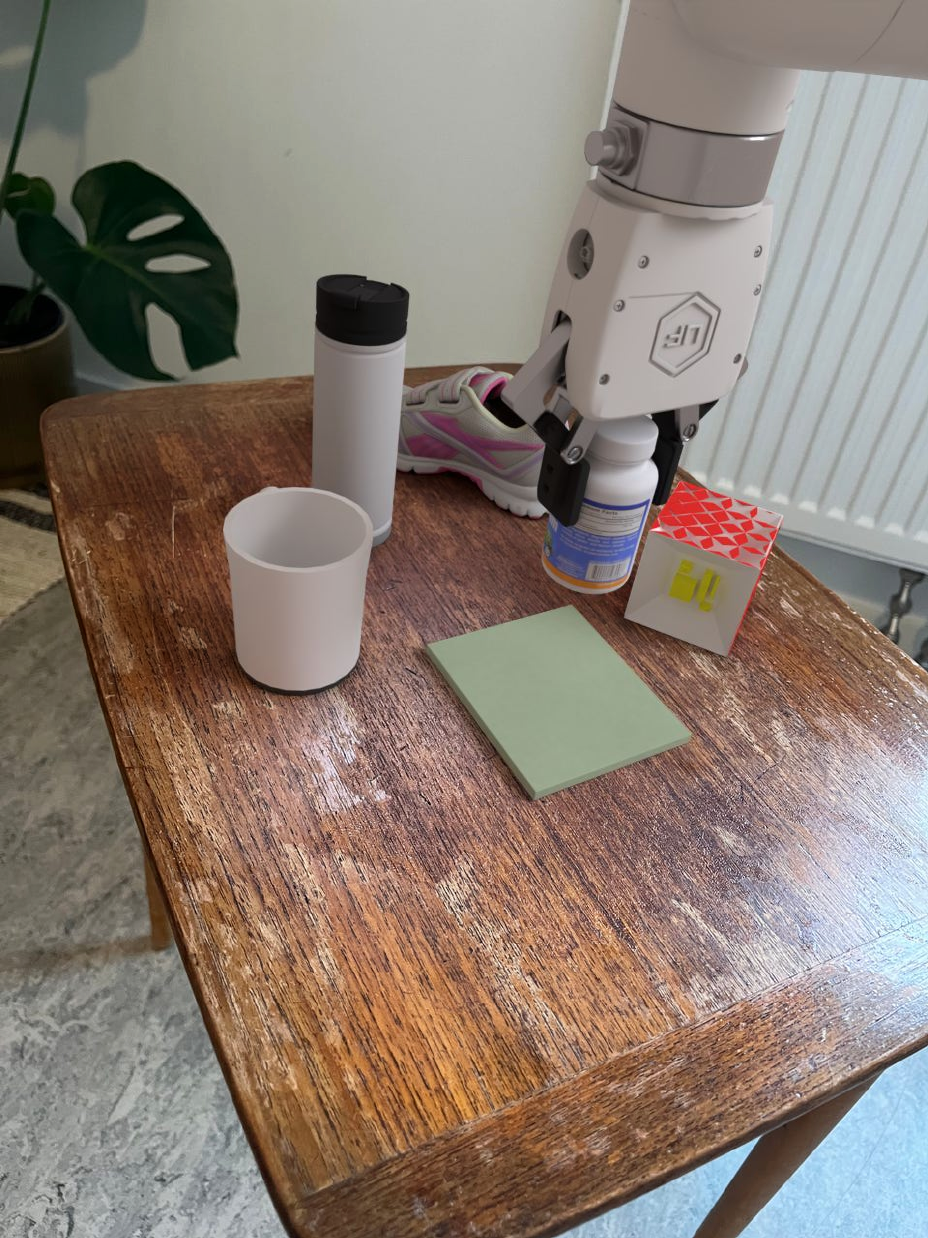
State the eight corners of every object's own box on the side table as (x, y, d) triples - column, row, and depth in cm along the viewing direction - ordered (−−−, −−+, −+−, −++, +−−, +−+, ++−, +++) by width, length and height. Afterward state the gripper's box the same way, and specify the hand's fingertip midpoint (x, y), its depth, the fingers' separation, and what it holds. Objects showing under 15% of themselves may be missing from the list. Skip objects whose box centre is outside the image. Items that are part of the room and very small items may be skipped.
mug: (386, 681, 63) (397, 555, 57) (254, 716, 59) (249, 585, 53) (326, 584, 70) (329, 461, 64) (205, 609, 67) (195, 482, 60)
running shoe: (374, 407, 92) (381, 307, 85) (592, 483, 85) (616, 381, 79) (323, 446, 85) (325, 341, 79) (554, 531, 79) (577, 424, 73)
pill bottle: (555, 531, 60) (585, 388, 53) (639, 558, 58) (680, 414, 52) (527, 579, 56) (557, 429, 49) (617, 608, 54) (659, 459, 48)
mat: (689, 742, 62) (692, 734, 62) (533, 801, 57) (535, 792, 56) (569, 612, 71) (571, 604, 71) (425, 652, 66) (426, 644, 65)
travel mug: (295, 540, 74) (296, 284, 61) (331, 499, 79) (339, 253, 66) (370, 563, 73) (388, 307, 60) (402, 519, 78) (424, 274, 65)
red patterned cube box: (623, 617, 71) (648, 529, 66) (654, 564, 77) (680, 480, 72) (727, 658, 69) (762, 570, 64) (751, 600, 75) (785, 515, 70)
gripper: (573, 193, 36) (505, 574, 48) (882, 178, 44) (758, 510, 55) (476, 136, 41) (435, 495, 53) (770, 131, 49) (677, 446, 60)
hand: (602, 499), depth 54 cm, fingers closed on pill bottle, 5 cm apart
